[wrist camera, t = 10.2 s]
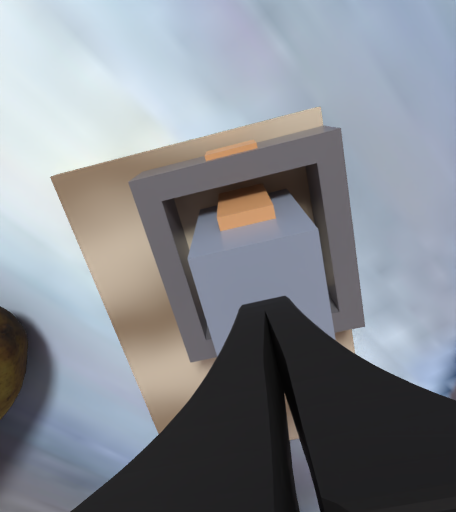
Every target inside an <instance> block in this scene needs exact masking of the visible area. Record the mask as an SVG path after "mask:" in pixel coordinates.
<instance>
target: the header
mask: <svg viewBox="0 0 456 512" xmlns="http://www.w3.org/2000/svg"><path fill="white" fill-rule="evenodd" d="M303 166H305V167H306V173H307V179H308V185H309V191H310V198H311V204H312V210H313V216H314V222H315V226H316V227H317V228H318V231H319V237H320V244H321V250H322V256H323V263H324V269H325V276H326V282H327V288H328V295H329V301H330V307H331V314H332V320H333V327H334V333H336V332H341V331H345V330H350V329H355V328H360V327H365V322H364V314H363V306H362V297H361V289H360V281H359V273H358V265H357V257H356V249H355V240H354V232H353V224H352V216H351V208H350V200H349V192H348V183H347V175H346V167H345V159H344V151H343V143H342V135H341V128H336V127H329V126H320V127H316V128H312V129H308V130H304V131H300V132H296V133H292V134H288V135H284V136H281V137H277V138H273V139H269V140H265V141H261V142H257V143H256V142H255V141H254V140H249V141H245V142H242V143H238V144H234V145H230V146H226V147H222V148H218V149H214V150H210V151H207V152H206V154H205V156H202V157H198V158H194V159H190V160H186V161H182V162H178V163H175V164H171V165H167V166H163V167H159V168H155V169H151V170H147V171H143V172H141V173H140V174H138V175H137V176H136V177H134V178H133V179H132V180H130V181H129V182H128V183H129V186H130V189H131V192H132V195H133V198H134V201H135V204H136V207H137V209H138V212H139V215H140V218H141V221H142V224H143V227H144V230H145V233H146V235H147V238H148V241H149V244H150V247H151V250H152V253H153V256H154V259H155V262H156V264H157V267H158V270H159V273H160V276H161V279H162V282H163V285H164V288H165V290H166V293H167V296H168V299H169V302H170V305H171V308H172V311H173V314H174V317H175V319H176V322H177V325H178V328H179V331H180V334H181V337H182V340H183V343H184V345H185V348H186V351H187V354H188V357H189V360H190V363H191V362H196V361H201V360H205V359H210V358H215V357H217V354H216V351H215V348H214V344H213V341H212V338H211V335H210V331H209V328H208V325H207V321H206V318H205V315H204V312H203V308H202V305H201V302H200V299H199V295H198V292H197V289H196V286H195V282H194V279H193V276H192V272H191V269H190V266H189V263H188V255H189V251H190V250H189V247H188V243H187V240H186V237H185V234H184V230H183V227H182V224H181V220H180V217H179V214H178V211H177V207H176V204H175V201H174V198H177V197H181V196H185V195H189V194H193V193H197V192H201V191H205V190H209V189H213V188H218V187H222V186H226V185H230V184H234V183H238V182H242V181H246V180H250V179H254V178H258V177H262V176H266V175H270V174H274V173H278V172H282V171H286V170H291V169H295V168H299V167H303Z"/></svg>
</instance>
